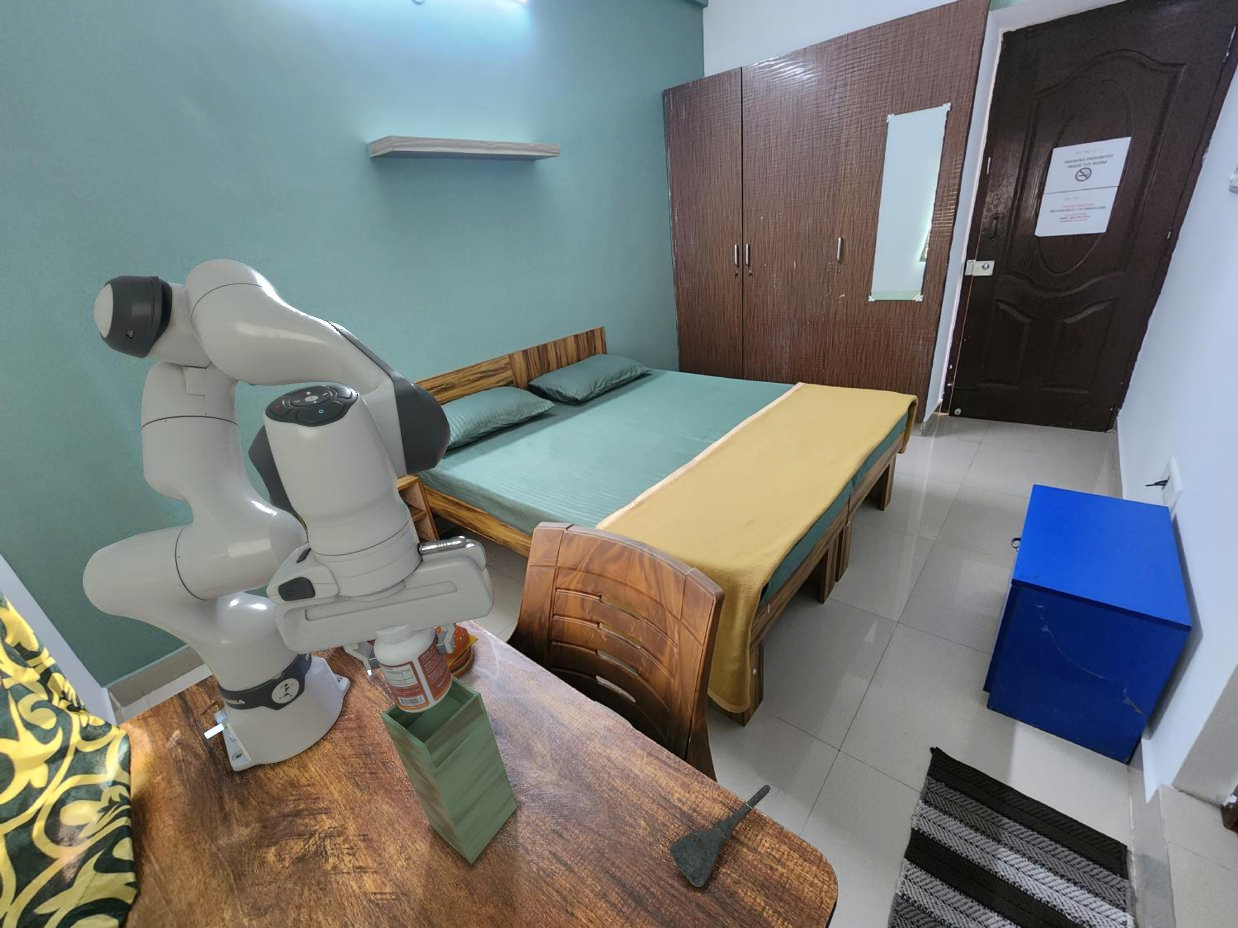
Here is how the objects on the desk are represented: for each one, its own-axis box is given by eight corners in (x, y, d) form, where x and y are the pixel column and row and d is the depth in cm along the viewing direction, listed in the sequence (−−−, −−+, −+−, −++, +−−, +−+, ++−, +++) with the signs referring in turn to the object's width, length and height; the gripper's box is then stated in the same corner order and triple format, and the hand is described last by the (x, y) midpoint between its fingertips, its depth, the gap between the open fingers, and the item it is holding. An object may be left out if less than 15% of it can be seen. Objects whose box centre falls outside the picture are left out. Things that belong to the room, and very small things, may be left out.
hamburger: (450, 690, 87) (440, 662, 84) (412, 673, 91) (401, 646, 88) (486, 651, 94) (478, 624, 91) (449, 637, 99) (441, 611, 96)
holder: (432, 828, 67) (380, 715, 57) (478, 776, 72) (438, 666, 63) (471, 864, 62) (422, 748, 53) (517, 806, 68) (480, 692, 59)
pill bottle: (441, 660, 61) (415, 587, 56) (461, 691, 56) (435, 615, 51) (389, 690, 57) (357, 616, 53) (406, 725, 53) (373, 648, 48)
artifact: (665, 851, 61) (693, 895, 58) (667, 847, 60) (695, 891, 57) (753, 770, 68) (782, 806, 65) (756, 765, 67) (785, 801, 64)
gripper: (481, 517, 53) (508, 617, 59) (276, 554, 50) (325, 655, 56) (477, 550, 47) (507, 658, 53) (245, 594, 45) (303, 702, 51)
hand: (412, 657), depth 55 cm, fingers closed on pill bottle, 6 cm apart
